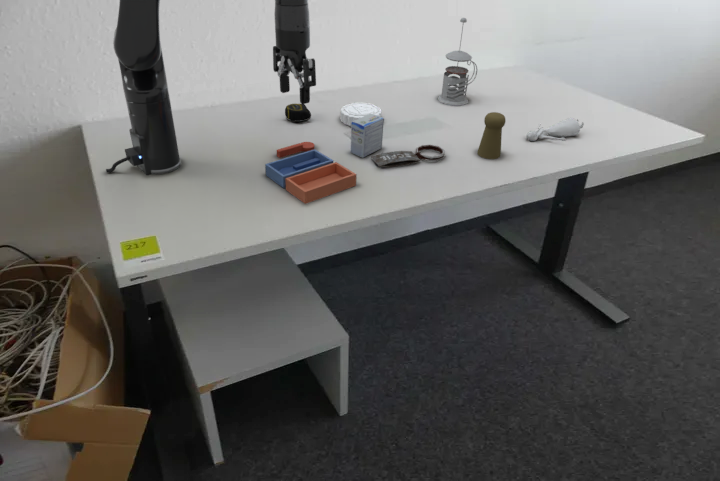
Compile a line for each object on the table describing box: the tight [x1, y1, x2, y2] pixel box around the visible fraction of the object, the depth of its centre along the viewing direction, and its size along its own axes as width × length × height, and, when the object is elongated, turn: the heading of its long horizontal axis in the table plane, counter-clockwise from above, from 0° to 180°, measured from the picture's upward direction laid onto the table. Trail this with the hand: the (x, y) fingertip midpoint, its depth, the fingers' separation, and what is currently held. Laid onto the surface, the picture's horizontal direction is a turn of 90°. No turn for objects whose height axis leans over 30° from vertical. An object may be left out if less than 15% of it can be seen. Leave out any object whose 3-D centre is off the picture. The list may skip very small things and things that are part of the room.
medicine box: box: [350, 114, 385, 159], centre depth 141 cm, size 8×4×9 cm, turn 141°
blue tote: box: [264, 148, 334, 189], centre depth 131 cm, size 14×8×3 cm, turn 129°
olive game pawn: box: [476, 111, 506, 160], centre depth 141 cm, size 6×6×11 cm
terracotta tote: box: [285, 161, 357, 205], centre depth 126 cm, size 14×8×3 cm, turn 129°
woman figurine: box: [525, 117, 585, 142], centre depth 154 cm, size 12×4×18 cm
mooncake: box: [339, 102, 383, 127], centre depth 160 cm, size 12×12×4 cm
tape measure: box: [284, 103, 312, 122], centre depth 159 cm, size 7×7×4 cm
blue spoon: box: [280, 158, 320, 175], centre depth 131 cm, size 11×4×2 cm, turn 130°
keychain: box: [370, 144, 446, 168], centre depth 140 cm, size 8×19×2 cm, turn 110°
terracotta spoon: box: [276, 141, 316, 159], centre depth 141 cm, size 11×4×2 cm, turn 129°
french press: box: [437, 17, 478, 106], centre depth 170 cm, size 10×12×25 cm
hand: (294, 97), depth 129 cm, fingers open, 8 cm apart
